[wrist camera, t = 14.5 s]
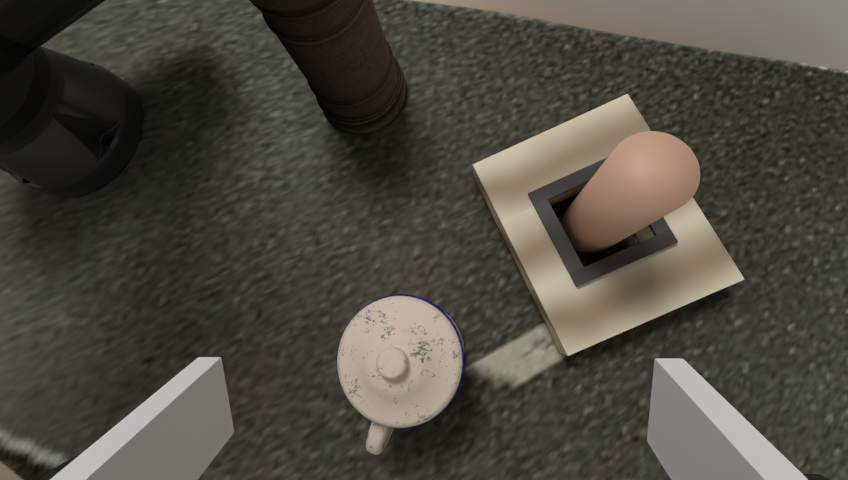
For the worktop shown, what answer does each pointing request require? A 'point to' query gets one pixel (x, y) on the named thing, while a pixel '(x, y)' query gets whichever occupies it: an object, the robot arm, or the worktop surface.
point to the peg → (632, 191)
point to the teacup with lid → (400, 364)
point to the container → (341, 59)
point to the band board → (614, 275)
